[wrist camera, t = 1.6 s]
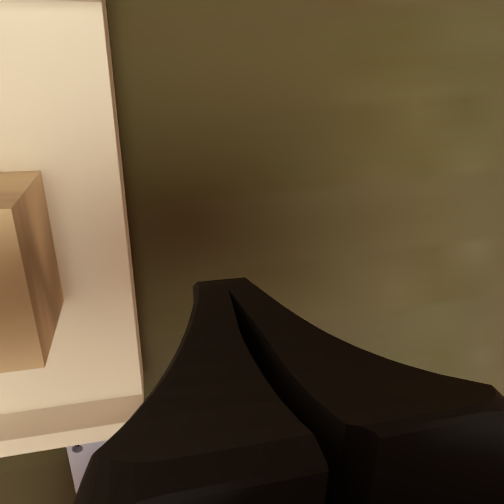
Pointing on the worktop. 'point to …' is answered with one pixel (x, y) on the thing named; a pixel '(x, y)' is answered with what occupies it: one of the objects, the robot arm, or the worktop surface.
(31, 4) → the trap box
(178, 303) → the worktop surface
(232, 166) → the worktop surface
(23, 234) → the maple block
